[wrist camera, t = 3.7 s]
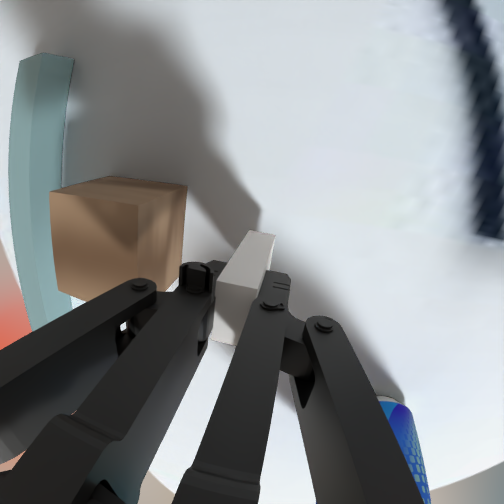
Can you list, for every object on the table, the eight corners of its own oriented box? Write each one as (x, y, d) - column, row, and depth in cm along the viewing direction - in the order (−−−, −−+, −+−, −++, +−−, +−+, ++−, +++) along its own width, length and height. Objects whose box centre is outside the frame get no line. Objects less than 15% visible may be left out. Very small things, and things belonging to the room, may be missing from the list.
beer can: (307, 405, 22) (286, 586, 7) (404, 376, 20) (442, 562, 5) (333, 451, 24) (325, 589, 9) (413, 428, 22) (434, 569, 7)
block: (110, 175, 18) (49, 191, 13) (188, 185, 18) (138, 205, 12) (109, 255, 21) (58, 290, 15) (181, 273, 20) (139, 319, 14)
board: (50, 65, 16) (19, 60, 13) (74, 59, 16) (42, 52, 12) (55, 321, 25) (34, 339, 21) (76, 331, 24) (55, 351, 21)
